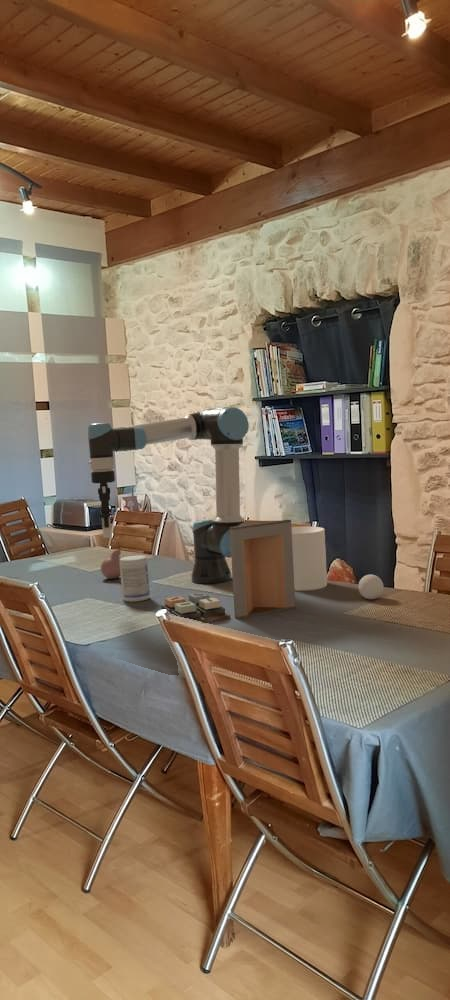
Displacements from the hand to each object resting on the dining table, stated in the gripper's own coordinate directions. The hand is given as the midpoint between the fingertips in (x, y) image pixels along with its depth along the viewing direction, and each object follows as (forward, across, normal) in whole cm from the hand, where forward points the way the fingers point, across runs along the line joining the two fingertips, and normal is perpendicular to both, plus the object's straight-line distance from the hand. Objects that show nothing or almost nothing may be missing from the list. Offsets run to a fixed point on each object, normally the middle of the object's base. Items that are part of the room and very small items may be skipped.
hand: (107, 534), depth 250 cm
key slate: (+21, +15, +27) cm, 38 cm away
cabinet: (+25, +22, +46) cm, 56 cm away
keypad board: (+25, +21, +25) cm, 41 cm away
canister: (+25, -7, +68) cm, 73 cm away
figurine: (+25, -51, +2) cm, 57 cm away
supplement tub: (+25, -10, +8) cm, 28 cm away
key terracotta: (+21, +17, +20) cm, 34 cm away
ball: (+25, +21, +83) cm, 89 cm away
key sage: (+21, +26, +22) cm, 40 cm away
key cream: (+21, +24, +30) cm, 44 cm away
